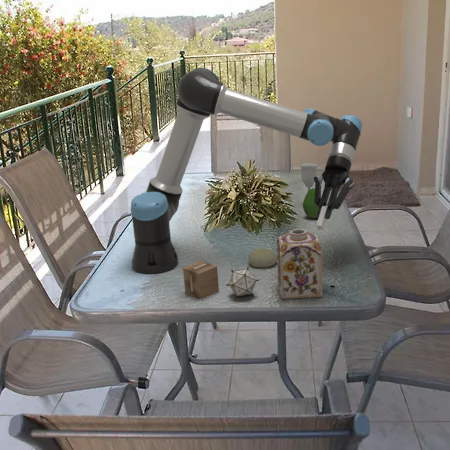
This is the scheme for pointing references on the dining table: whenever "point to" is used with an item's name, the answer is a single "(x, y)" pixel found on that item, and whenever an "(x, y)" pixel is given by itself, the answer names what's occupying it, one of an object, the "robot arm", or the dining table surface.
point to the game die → (242, 282)
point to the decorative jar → (299, 265)
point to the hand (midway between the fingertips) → (320, 227)
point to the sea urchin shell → (262, 258)
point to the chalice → (308, 174)
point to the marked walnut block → (201, 279)
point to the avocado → (310, 204)
